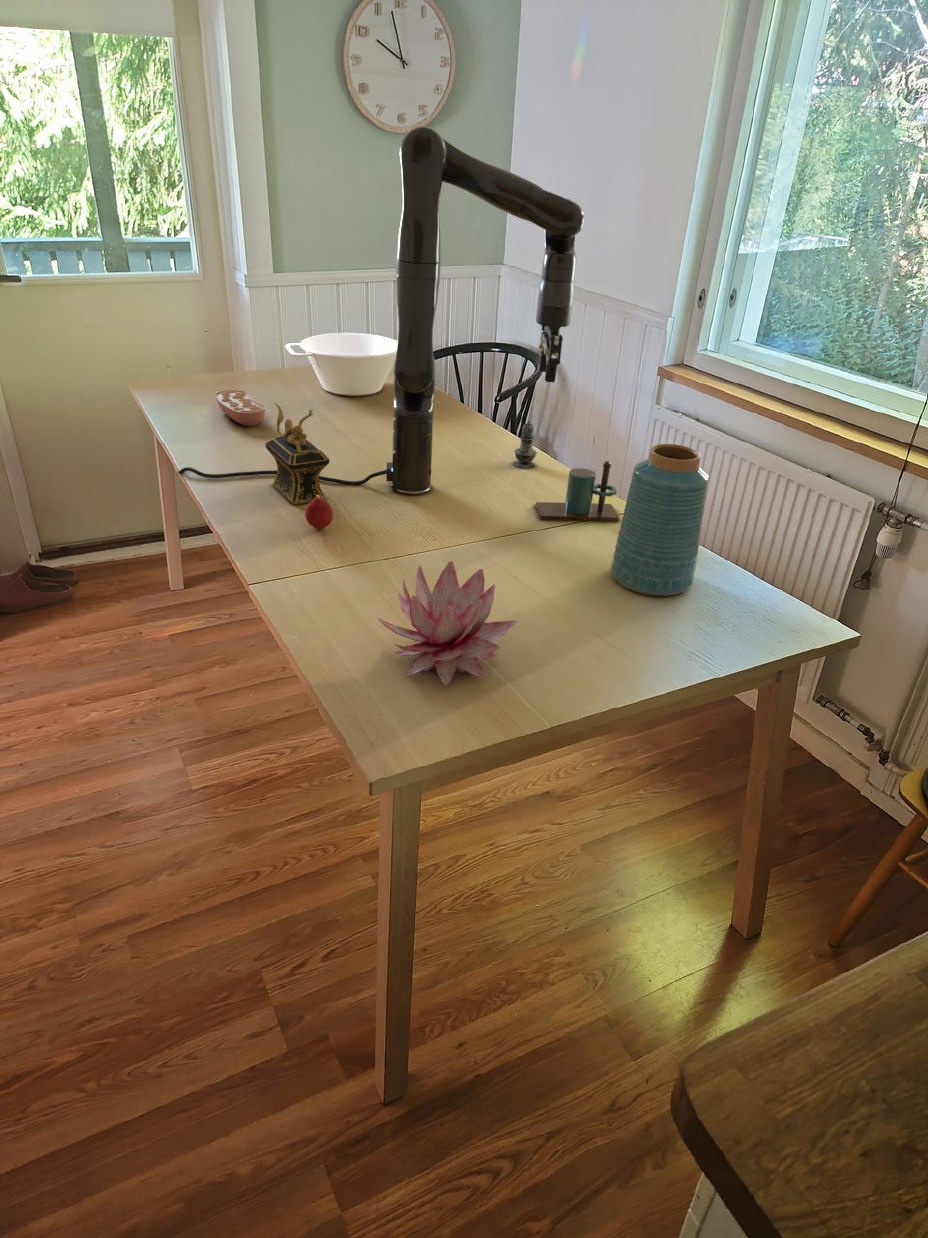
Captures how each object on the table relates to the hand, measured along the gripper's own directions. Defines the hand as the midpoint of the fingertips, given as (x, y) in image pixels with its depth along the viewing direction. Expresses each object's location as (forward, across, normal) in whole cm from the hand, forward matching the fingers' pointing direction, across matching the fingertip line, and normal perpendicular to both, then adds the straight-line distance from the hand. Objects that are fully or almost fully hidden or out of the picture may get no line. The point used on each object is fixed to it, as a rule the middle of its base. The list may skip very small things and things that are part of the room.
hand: (546, 376), depth 190 cm
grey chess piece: (+28, -18, 0) cm, 33 cm away
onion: (+28, +25, -50) cm, 63 cm away
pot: (+28, -83, -48) cm, 100 cm away
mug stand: (+28, +13, +8) cm, 32 cm away
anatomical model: (+29, -49, -78) cm, 96 cm away
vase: (+28, +45, +17) cm, 56 cm away
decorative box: (+28, +3, -57) cm, 64 cm away
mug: (+27, +13, +11) cm, 32 cm away
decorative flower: (+28, +75, -26) cm, 84 cm away
